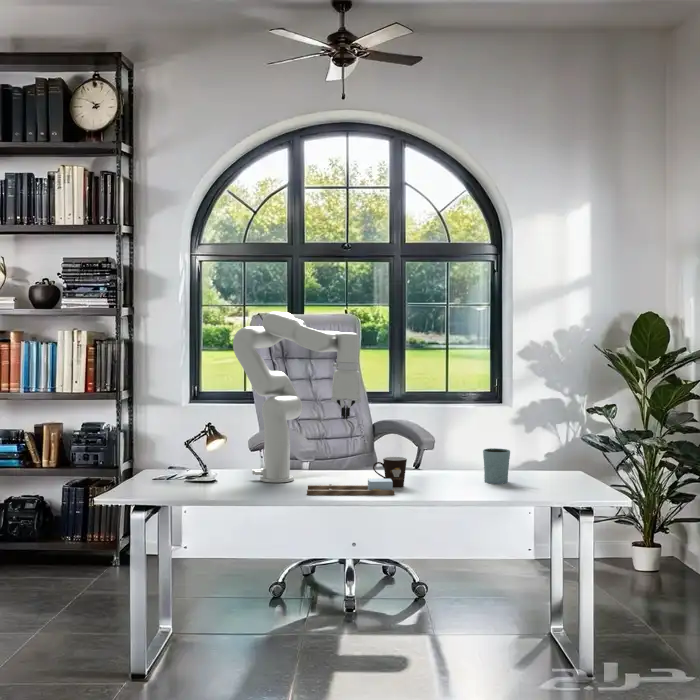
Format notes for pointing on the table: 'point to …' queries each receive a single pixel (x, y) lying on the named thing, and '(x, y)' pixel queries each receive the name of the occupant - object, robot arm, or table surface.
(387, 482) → the block
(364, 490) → the wooden rail frame
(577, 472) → the table surface
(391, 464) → the coffee mug
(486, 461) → the green tapered cup
